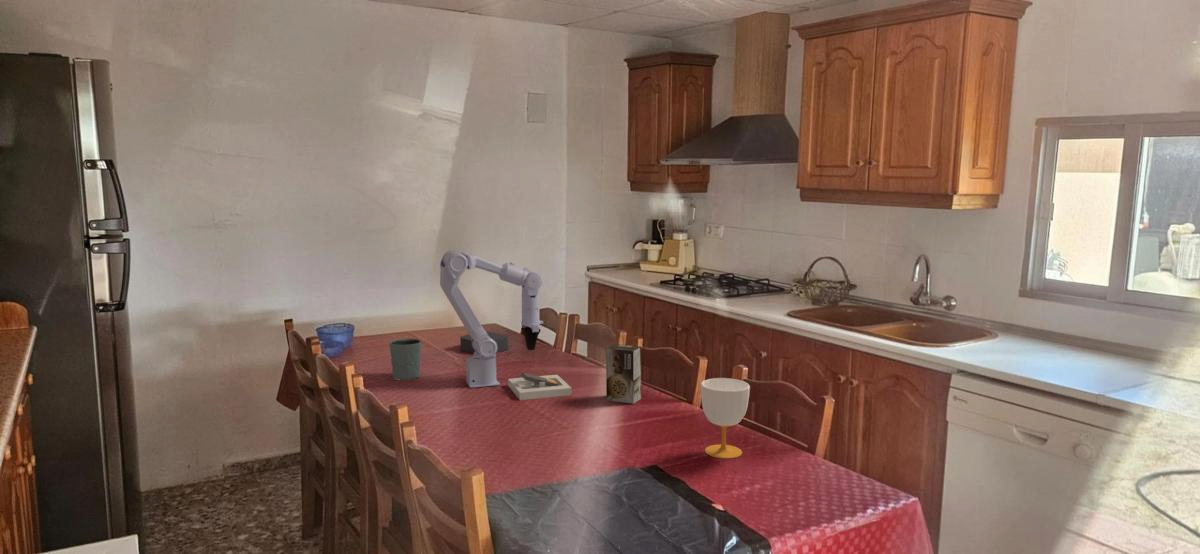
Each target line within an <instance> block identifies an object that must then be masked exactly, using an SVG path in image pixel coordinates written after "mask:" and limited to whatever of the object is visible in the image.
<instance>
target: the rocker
mask: <svg viewBox="0 0 1200 554" xmlns="http://www.w3.org/2000/svg"><path fill="white" fill-rule="evenodd" d="M520 376H521V378H524V379H525V380H527V381H531V382H535V383H539V382H545V385H546V386H550V387H551V386H559V384H558V383H556V382H555V381H554V380H551V379H547V378H543V377H539V376H540V375H535V374H532V373H527V372H524V371H521V374H520Z"/></svg>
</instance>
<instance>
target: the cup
mask: <svg viewBox="0 0 1200 554" xmlns="http://www.w3.org/2000/svg"><path fill="white" fill-rule="evenodd" d="M750 390H751V386H750V384H749V383H748V382H746V381H744V380H741V379H735V378H731V377H730V378H727V377H717V378H716V377H715V378H714V377H713V378H708V379H705V380H702V382H701V383H700V396H701V406H702V410H703V413H704V415H705V418H706V419H707V420H708V422H710V423H712V424H713V425H714V426H715V425H716V426H718V427H720V428H721V444H712V445H709V446H707V447H705V449H704V453H705V454H706V455H708V456H709V455H710V456H709V457H712V458H716V459H721V460H727V459H728V460H730V459H735V458H739V457H741V456H742V454H743V450H742V449H741V448H739V447H737V446H733V445H729V444H727V429H728V428H730V427H732V426H735V425H738V424H739V423H740V422H741V421H742V420H743V418H744V417H745V416H746V412H747V411H748V406H749V400H750V399H749V398H750Z"/></svg>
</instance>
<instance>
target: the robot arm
mask: <svg viewBox="0 0 1200 554" xmlns="http://www.w3.org/2000/svg"><path fill="white" fill-rule="evenodd" d="M439 265H440V266H439V267H440V273H439V274H440V275H439V277H440V278H439V285H440V288H441V290H442V291H443V293H444V294H445V295H444V296H446V298H447V300H448V301H449V302H450V304H451V306H452V307H453V310H454V312H456V315H457V316H458V318H459V320H460V321H461V323H462V325H463V327H465V330H466V331H467V333H468V335H469V336H470V338H471V340H472V347H473V349H474V350H475V352H474V353H472V356H471V357H467V358H466V360H465V372H466V373H465V374H466V375H465V376H466V377H465V378H466V381H465V382H466V384H467V385H468V387H469V388H470V389H473V388H482V387H483V388H484V387H494V386H495V387H496V386H500V385H501V383H500V382H499V380H498V379H497V354H496V353H498V352H497V343H496V342H495V341H494V340H493V339H491V338H490V337H489V336H488V334H487V333H486V332H487V331H486V330H485V328H484V327H483V326H482V324H481V322H480V321H479V319H478V317H477V315H476V314H475V312H474V310H473V309H472V308H471V305H470V304H469V302H468V300H467V299H466V297H465V295H464V293H463V292H462V290H461V289H460V286H459V285H458V284H459V282H460V279H461V276H462V275H463V274H464V273H465V271H466V270H469V271H471V270H473V269H476V268H477V269H480V270H483V271H485V272H490V273H493V274H496V275H498V277H499V279H500V280H501V281H503V282H507V283H509V284H513V285H515V286H518V287H521V321H520V322H521V323H520V324H521V325H522V326H524V327H521V328H520V329H521V331H522V333H523V336H524V340H525V345H526V348H527V350H528V351H534V350H535V349H536V345H537V341H538V340H537V339H538V336H539V334H540V333H541V329H540V325H541V324H543V325H544V321H543V320H540V289H541V286H542V285H543V281H542V279H541V276H540V275H539V273H536V272H534V271H532V270H530V269H529V268H527V267H524V268H523V267H520V266H517V265H516V263H514V262H512V261H511V262H509V263H508V262H506V263H503V264H500V263H497V262H493V261H491V260H488V259H486V258H483V257H480V256H478V255H475V254H472V253H467V252H463V251H462V252H459V251H457V250H455V249H451V250H448V251H446V252H445V253H444V254H443V256H442V258H441V260H440V262H439Z"/></svg>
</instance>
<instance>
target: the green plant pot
mask: <svg viewBox="0 0 1200 554" xmlns="http://www.w3.org/2000/svg"><path fill="white" fill-rule="evenodd" d="M422 343H423V342H422V340H421V339H419V338H396V339H392V340H390V341H389V350H390V357H391V358H390V361H391V370H392V371H391V372H392V379H393V378H395V379H400V380H407V381H409V380H408V379H413V380H416V379H415V378H417V377H418V378H419V377H420V373H421V372H420V371H421V369H420V368H421V367H420V365H421V354H422V353H421V351H422ZM418 378H417V379H418ZM395 379H394V380H395ZM400 380H399V381H400Z"/></svg>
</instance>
